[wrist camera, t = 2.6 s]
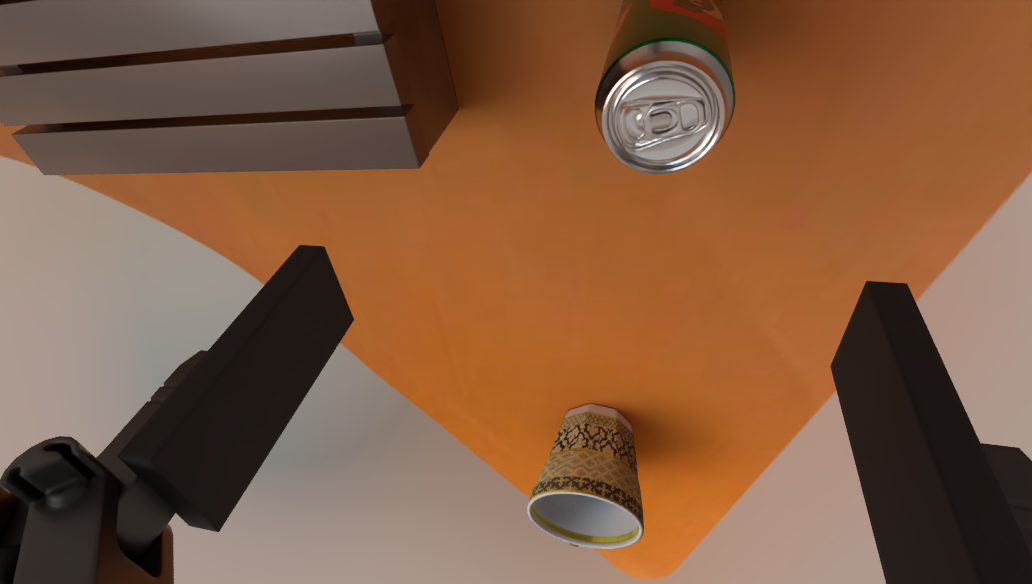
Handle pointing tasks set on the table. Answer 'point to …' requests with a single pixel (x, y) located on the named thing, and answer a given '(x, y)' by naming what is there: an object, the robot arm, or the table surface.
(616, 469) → the ceramic cup
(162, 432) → the robot arm
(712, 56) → the soda can
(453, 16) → the table surface
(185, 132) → the dark brown wooden bench
